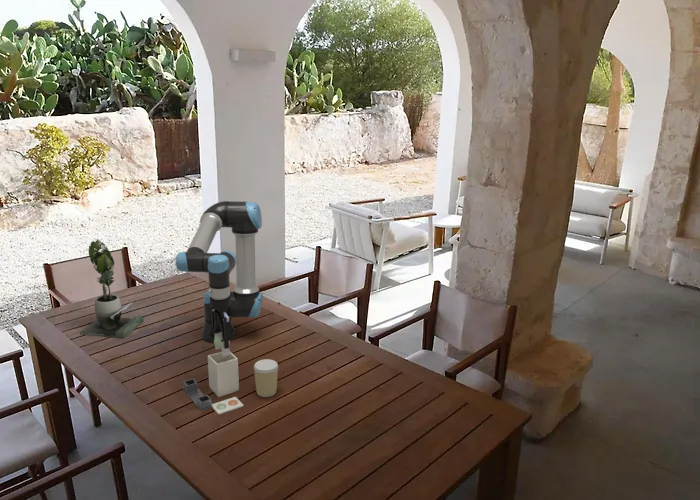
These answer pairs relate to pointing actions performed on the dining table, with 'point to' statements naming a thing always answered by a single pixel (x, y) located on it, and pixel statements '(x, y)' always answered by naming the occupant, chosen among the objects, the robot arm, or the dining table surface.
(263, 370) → the coffee cup
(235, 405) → the card
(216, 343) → the ball sage
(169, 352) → the dining table surface
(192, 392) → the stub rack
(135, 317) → the potted plant
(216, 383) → the open square box
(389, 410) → the dining table surface
